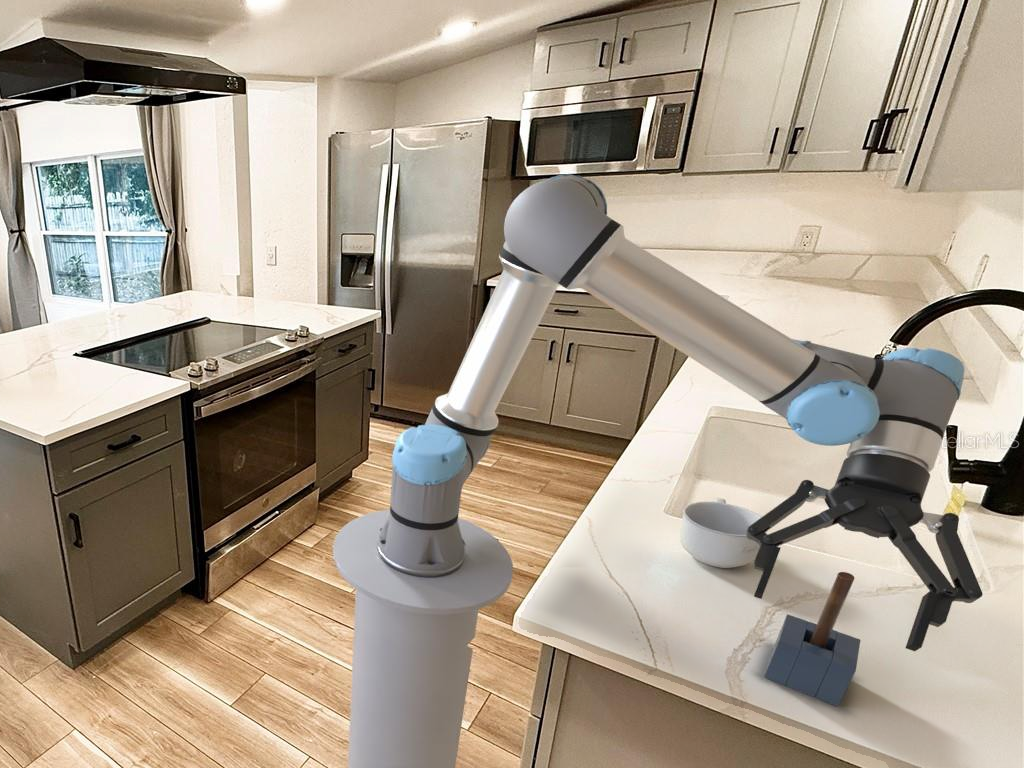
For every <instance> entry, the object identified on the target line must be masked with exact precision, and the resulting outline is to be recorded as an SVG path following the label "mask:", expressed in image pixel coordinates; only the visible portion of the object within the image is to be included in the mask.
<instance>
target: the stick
mask: <svg viewBox="0 0 1024 768" xmlns="http://www.w3.org/2000/svg"><path fill="white" fill-rule="evenodd" d="M855 578H856V577H855V576H854V575H853V574H851V573H850V572H847V571H839V572H837V575H836V578H835V579H834V582H833V585H832V587H831V589H830V592H829V594H828V597H827V599H826V601H825V604H824V607H823V608H822V611H821V612H820V613H821V614H820V616H819V618H818V620H817V623H816V624H817V625H816V628H815V630H814V632H813V635H812V637H811V640H810V642H809V643H810V644H813V645H816V646H818V647H821V648H825V645H826V643H827V641H828V638H829V636H830V634H831V632H832V630H834V627H835V625H836V622H837V620H838V618H839V615H840V614H841V611H842V609H843V606H844V604H845V602H846V599H847V598H848V595H849V593H850V591H851V588H852V586H853V584H854V581H855Z"/></svg>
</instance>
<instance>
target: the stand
mask: <svg viewBox="0 0 1024 768" xmlns="http://www.w3.org/2000/svg"><path fill="white" fill-rule="evenodd" d="M816 625H817V623H814V622H812V621H808V620H806V619H803V618H800V617H796V616H795V615H791V614H788V613H787V614H786V616H785V619H784V621H783V623H782V625H781V628H780V630H779V632H778V636H777V638H776V640H775V642H774V645H773V648H772V650H771V653H770V657H769V660H768V663H767V667H766V669H765V673H764V678H766V679H768V680H771V681H773V682H775V683H778V684H780V685H782V686H786V687H788V688H790V689H793V690H796V691H798V692H800V693H802V694H805V695H807V696H810V697H812V698H815V699H818V700H819V701H822V702H825V703H827V704H829V705H831V706H835V707H837V708H838V707H839V706H840V703H841V702H842V700H843V698H844V696H845V694H846V692H847V689H848V687H849V685H850V684H851V681H852V680H853V678H854V675H855V673H856V671H857V667H858V666H857V665H858V659H859V652H860V645H861V639H860V638H857V637H855V636H851V635H849V634H846V633H844V632H840V631H837V630H834V629H832V632H831V634H830V636H829V638H828V641H827V643H826V645H825V648H821V647H818V646H816V645H813V644H810V643H809V642H810V640H811V637H812V635H813V632H814V630H815V628H816Z"/></svg>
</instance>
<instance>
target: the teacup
mask: <svg viewBox="0 0 1024 768" xmlns="http://www.w3.org/2000/svg"><path fill="white" fill-rule="evenodd" d="M682 514H683V516H682V520H681V526H680V532H679V539H680V543H681V546H682V548H684V550H685V551H686V552H687V553H688V554H690V555H691V557H693V558H694V560H695V559H696V561H698V562H701V563H702V564H705V565H708V566H710V567H715V568H721V569H733V568H737V567H742V566H747V565H749V564H751V563H753V562H754V561H755V558H756V556H757V553H758V550H759V548H760V547H759V544H758V543H757V542H755V541H753V540H750V539H748V538H747V537H746V532H747V528H748V527H749V526H750V525H752V524H753V523H754V522H756V521H757V520H759V519H760V518H761V517H762V515H760V514H759V513H756V512H754V511H753V510H750V509H749V508H748V509H747V508H745V507H741V506H738V505H735V504H729V503H727V501H726V499H724V498H721V497H716V498H713V499H712V501H698V502H692V503H690V504H688V505H686V506H685V507H684V509H683V511H682ZM767 532H768V531H766V532H765V533H766V534H767Z"/></svg>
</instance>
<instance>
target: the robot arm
mask: <svg viewBox="0 0 1024 768" xmlns="http://www.w3.org/2000/svg"><path fill="white" fill-rule="evenodd" d="M503 233H504V234H503V235H504V240H505V241H504V243H503V246H502V248H501V250H500V253H499V255H498V259H499V260H500V263H501V265H502V267H503V270H502V272H501V274H500V276H499V279H498V281H497V283H496V285H495V288H494V290H493V292H492V294H491V297H490V299H489V301H488V303H487V305H486V307H485V310H484V312H483V315H482V316H481V319H480V322H479V323H478V326H477V328H476V330H475V332H474V335H473V337H472V339H471V341H470V343H469V346H468V348H467V350H466V353H465V354H464V356H463V359H462V361H461V363H460V366H459V368H458V370H457V372H456V375H455V377H454V379H453V381H452V383H451V385H450V388H449V390H448V392H447V393H445V394H441V395H439V396H438V397H436V399H435V401H434V403H433V406H432V408H431V410H430V412H429V415H428V417H427V419H426V420H425V421H426V422H425V423H424V424H421V425H420V424H419V425H418V426H417V427H415V426H413V427H409V428H407V429H405V430H404V431H403V432H401V433H400V434H399V435H398V437H397V438H396V440H395V443H394V448H393V451H392V456H391V458H392V461H391V463H392V468H391V470H392V472H391V486H390V502H389V504H390V507H389V509H390V513H389V515H388V517H387V520H386V522H385V524H384V526H383V528H381V529H380V531H381V532H380V534H379V538H378V544H377V551H378V554H379V556H380V558H381V559H382V561H383V562H384V563H386V564H387V565H388V566H390V567H391V568H393V569H395V570H397V571H399V572H401V573H404V574H407V575H411V576H416V577H424V578H435V577H442V576H446V575H449V574H452V573H454V572H456V571H457V570H458V569H460V567H461V566H462V565H463V562H464V556H465V549H464V545H465V542H464V540H463V539H462V536H461V532H460V528H459V524H458V518H459V512H460V505H461V498H462V490H463V486H464V484H465V483H466V482H467V479H469V477H470V475H471V474H472V472H473V471H474V470H475V468H476V466H478V464H479V462H480V461H481V460H482V459H483V458H484V457H485V455H486V453H487V451H488V450H489V447H490V443H491V439H492V438H493V435H494V433H495V432H496V430H497V428H498V426H499V417H498V415H497V414H496V412H495V411H496V410H497V408H498V406H499V404H500V402H501V400H502V398H503V395H504V394H505V392H506V390H507V388H508V386H509V384H510V382H511V380H512V379H513V376H514V374H515V372H516V371H517V369H518V366H519V364H520V363H521V361H522V358H523V356H524V354H525V353H526V350H527V348H528V346H529V344H530V342H531V341H532V338H533V336H534V335H535V333H536V330H538V329H537V328H538V327H539V325H540V323H541V321H542V318H543V317H544V315H545V313H546V311H547V309H548V308H549V305H550V303H551V301H552V299H553V297H554V295H555V293H556V292H557V290H558V287H559V286H562V287H563V288H565V289H567V290H568V291H569V290H577V289H582V290H583V291H585V292H586V293H588V294H589V295H591V296H593V297H594V298H596V299H597V300H599V301H601V302H603V303H604V305H607V306H608V307H610V308H612V309H613V310H615V311H616V312H618V313H620V314H621V315H623V316H624V317H626V318H628V319H629V320H631V321H632V322H634V323H635V324H636V325H639V326H640V327H642V328H643V329H645V330H646V331H648V332H649V333H651V334H653V335H654V336H656V337H657V338H659V339H661V341H664V342H666V343H667V344H668V345H670V346H672V347H673V348H675V349H676V350H677V351H679V352H681V353H683V354H684V355H685V356H687V357H689V358H691V359H692V360H693V361H695V362H696V363H698V364H700V365H702V366H703V367H704V368H706V369H708V371H711V372H712V373H714V374H715V375H717V376H718V377H720V378H722V379H723V380H725V381H727V382H728V383H730V384H731V385H732V386H734V387H736V388H737V389H739V390H741V391H742V392H744V393H745V394H747V395H749V396H750V397H752V398H753V399H755V400H757V401H758V402H759V403H761V404H762V405H763V406H765V408H768V409H770V410H771V411H772V412H774V413H776V414H777V415H779V416H780V417H782V418H784V419H785V420H786V423H787V425H788V426H789V427H790V429H791V430H792V431H794V432H795V434H796V435H797V436H798V437H800V438H801V439H803V440H805V441H807V442H808V443H812V444H814V445H819V446H825V447H833V446H834V447H836V446H844V445H848V444H849V446H848V448H847V451H846V456H847V457H846V458H845V459H844V460H843V462H842V465H841V466H840V470H839V473H838V476H837V478H836V480H835V483H834V485H833V487H832V488H830V489H827V488H824V487H821V486H818V485H816V484H814V482H813V481H812V480H810V479H804V480H802V481H801V482H800V484H799V485H798V487H797V488H796V490H795V492H794V493H792V495H790V496H789V497H788V498H786V499H785V500H783V501H782V502H781V503H779V504H778V505H776V506H775V507H774V508H772V509H771V510H769V511H768V512H767V513H765V514H764V515H763V516H761V518H760V519H759V520H757V521H756V522H754V523H753V524H752V525H750V526H749V527H748V528H747V532H746V537H747V538H748V539H750V540H753V541H755V542H757V543H758V544H759V547H760V548H759V550H758V553H757V556H756V558H755V560H753V563H752V564H753V569H754V570H757V571H760V572H762V574H761V576H760V579H759V582H758V584H757V587H756V589H755V592H754V595H753V597H754V598H756V599H760V600H762V598H763V596H764V593H765V590H766V588H767V585H768V583H769V580H770V577H771V575H772V573H773V570H774V567H775V564H776V561H777V559H778V557H779V553H780V551H781V548H782V547H780V546H782V545H785V544H787V543H790V542H793V541H794V540H797V539H800V538H802V537H805V536H807V535H810V534H813V533H815V532H817V531H820V530H822V529H827V528H830V527H832V526H835V525H837V524H838V525H839V526H841V528H843V530H845V531H850V532H854V533H855V532H856V533H862V534H865V535H867V536H869V537H872V538H876V539H880V538H888V539H889V540H890V543H892V545H893V546H894V547H895V548H897V549H898V550H899V552H900V553H901V554H902V556H903V557H904V558H905V560H906V561H907V562H908V563H909V565H910V567H911V568H912V569H913V571H914V572H915V573H916V574H917V576H918V577H919V579H920V580H921V582H922V583H923V584H924V585H925V587H926V588H927V589H928V592H926V593H925V594H924V595H923V596H922V597H921V601H920V604H919V607H918V610H917V612H916V615H915V618H914V621H913V623H912V628H911V630H910V632H909V633H910V634H909V636H908V639H907V642H906V645H905V649H907V650H909V651H913V652H917V651H918V650H920V649H921V648H922V647H923V644H924V641H925V638H926V636H927V634H928V629H929V627H930V626H933V627H936V628H939V627H940V626H943V625H944V624H945V623H946V622H947V619H948V616H949V614H950V610H951V607H952V604H953V602H962V603H965V604H972V603H975V602H976V601H978V600H979V599H981V598H982V596H983V595H984V594H983V590H982V589H981V586H980V584H979V582H978V578H977V576H976V574H975V572H974V569H973V567H972V564H971V562H970V559H969V557H968V555H967V553H966V550H965V548H964V545H963V543H962V541H961V538H960V536H959V534H958V528H959V520H960V518H959V517H960V516H959V515H958V514H956V513H953V512H947V513H944V514H937V513H931V512H927V511H926V512H925V511H924V510H923V509H922V501H923V499H924V496H925V493H926V490H927V487H928V484H929V482H930V479H931V474H930V473H931V472H932V470H933V469H934V467H935V465H936V462H937V460H938V459H937V458H938V455H939V453H940V450H941V448H942V444H943V439H944V436H945V433H946V430H947V428H948V425H949V422H950V420H951V417H952V415H953V413H954V409H955V407H956V405H957V402H958V401H959V399H960V396H961V395H962V391H961V390H962V386H963V383H964V377H965V376H964V375H965V366H964V363H963V362H962V361H961V360H960V358H958V357H956V356H955V355H953V354H952V353H949V352H946V351H943V350H940V349H935V348H926V349H919V348H916V347H907V348H901V349H897V350H893V351H891V352H888V353H887V354H885V356H883V357H882V358H876V357H871V356H867V355H862V354H859V353H854V352H850V351H847V350H842V349H839V348H834V347H829V346H827V345H822V344H818V343H814V342H812V341H810V340H799V339H794V338H791V337H790V336H788V335H786V334H785V333H783V332H781V331H780V330H778V329H776V328H775V327H773V326H771V325H770V324H768V323H767V322H765V321H763V320H761V319H760V318H758V317H756V316H755V315H753V314H751V313H750V312H748V311H746V310H744V309H743V308H741V307H740V306H738V305H736V304H735V303H733V302H732V301H730V300H728V299H726V298H725V297H724V296H721V295H720V294H718V293H716V292H715V291H713V290H712V289H710V288H709V287H707V286H705V285H704V284H702V283H700V282H698V281H697V280H695V279H694V278H692V277H691V276H688V275H687V274H685V273H684V272H682V271H680V270H678V269H677V268H675V267H674V266H672V265H670V264H669V263H667V262H665V261H664V260H662V259H661V258H659V257H657V256H656V255H654V254H652V253H651V252H649V251H647V250H646V249H644V248H642V247H640V246H639V245H638V244H636V243H634V242H632V241H631V240H629V239H627V238H626V236H625V229H624V225H622V224H621V223H619V222H618V221H615V220H614V219H613V218H611V217H610V216H608V203H607V199H606V196H605V194H604V192H603V190H601V187H599V186H598V185H597V184H596V183H595V182H593V181H592V180H591V179H589V178H585V177H583V176H581V175H574V174H559V175H556V176H552V177H550V178H547V179H544V180H541V181H538V182H535V183H533V184H531V185H530V186H528V187H527V188H525V189H524V190H523V191H521V193H519V195H518V196H516V198H514V200H513V201H512V203H511V204H510V206H509V208H508V209H507V212H506V215H505V218H504V223H503ZM818 499H822V500H823V499H824V502H825V504H826V506H827V508H828V509H825V510H823V511H821V512H820V513H817V514H816V515H812V516H810V517H808V518H805V519H803V520H800V521H797V522H796V523H793V524H791V525H788V526H786V527H783V528H781V529H778V530H776V531H773V532H771V533H769V534H768V533H767V532H768V531H769V530H771V529H772V528H774V527H775V526H776V525H778V524H780V522H782V521H783V520H785V519H786V518H787V517H789V516H790V515H792V514H793V513H794V512H796V511H797V510H798V509H800V508H801V507H802V506H803V505H804V504H805V503H806V502H808V503H813V502H815V501H817V500H818ZM919 523H922V524H924V525H926V527H927V530H928V532H930V533H932V534H935V535H934V536H935V541H936V544H937V547H938V549H939V552H940V554H941V557H942V559H943V562H944V565H945V567H946V570H947V572H948V574H949V576H950V579H951V581H952V583H951V582H950V581H949V579H948V578H947V577H946V576H945V574H944V573H943V571H942V570H941V569H940V567H939V566H938V565H937V564H936V562H935V561H934V560H933V558H932V556H930V555H929V553H928V552H927V550H926V549H925V548H924V547H923V545H922V544H921V543H920V542H919V540H918V538H917V536H916V534H915V532H914V531H913V529H912V528H911V527H913V526H915V525H917V524H919ZM766 531H767V532H766ZM765 532H766V533H765ZM465 546H466V545H465Z"/></svg>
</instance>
